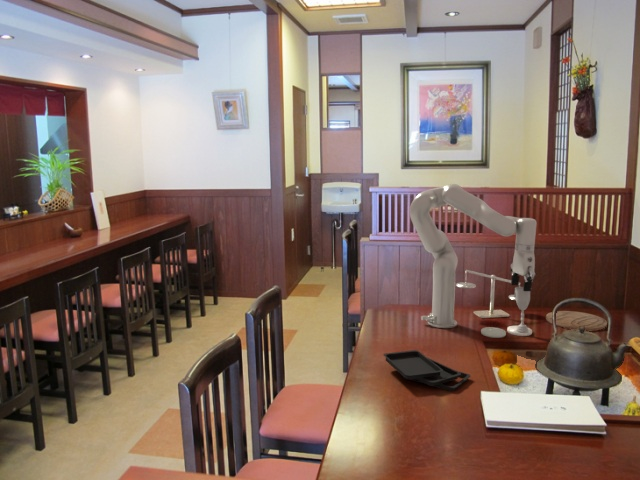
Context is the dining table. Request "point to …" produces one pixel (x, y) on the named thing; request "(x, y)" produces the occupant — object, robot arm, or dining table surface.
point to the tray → (424, 369)
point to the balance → (491, 312)
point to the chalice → (522, 306)
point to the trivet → (577, 320)
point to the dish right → (513, 331)
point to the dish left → (493, 332)
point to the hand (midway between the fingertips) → (520, 287)
